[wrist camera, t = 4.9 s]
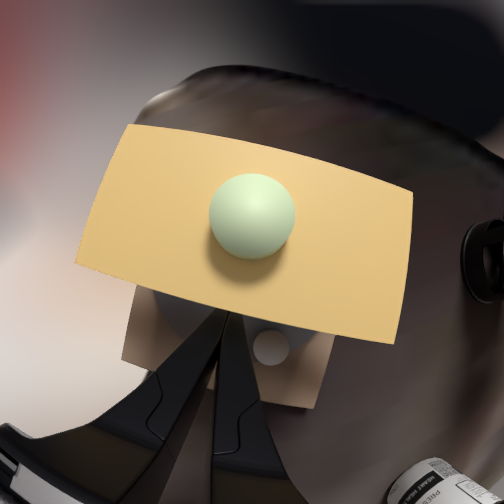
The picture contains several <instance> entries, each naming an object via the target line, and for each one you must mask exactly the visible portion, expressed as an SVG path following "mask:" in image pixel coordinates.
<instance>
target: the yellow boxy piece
mask: <svg viewBox="0 0 504 504" xmlns="http://www.w3.org/2000/svg"><path fill="white" fill-rule="evenodd" d="M412 203H413V192H410V191H408V190H405V189H403V188H400V187H398V186H395V185H393V184H390V183H387V182H384V181H382V180H379V179H376V178H373V177H371V176H368V175H365V174H362V173H359V172H356V171H353V170H350V169H347V168H344V167H340V166H337V165H334V164H331V163H327V162H324V161H321V160H317V159H314V158H310V157H307V156H303V155H299V154H295V153H292V152H288V151H284V150H280V149H276V148H272V147H267V146H263V145H259V144H254V143H250V142H245V141H240V140H235V139H230V138H225V137H220V136H214V135H209V134H203V133H197V132H190V131H184V130H177V129H170V128H162V127H153V126H144V125H134V124H128V126H127V128H126V130H125V132H124V134H123V136H122V138H121V140H120V142H119V144H118V146H117V148H116V150H115V153H114V155H113V157H112V159H111V161H110V164H109V166H108V168H107V170H106V173H105V175H104V178H103V180H102V182H101V185H100V187H99V190H98V193H97V195H96V198H95V200H94V204H93V206H92V209H91V211H90V214H89V217H88V220H87V223H86V226H85V229H84V232H83V235H82V239H81V242H80V245H79V249H78V252H77V256H76V259H75V263H76V264H79V265H81V266H84V267H87V268H90V269H93V270H95V271H98V272H101V273H104V274H107V275H110V276H113V277H116V278H119V279H122V280H125V281H128V282H131V283H134V284H137V285H141V286H144V287H147V288H150V289H153V290H157V291H160V292H163V293H167V294H170V295H173V296H177V297H180V298H184V299H187V300H191V301H194V302H198V303H202V304H205V305H209V306H213V307H217V308H220V309H224V310H228V311H232V312H236V313H240V314H244V315H248V316H252V317H256V318H261V319H265V320H269V321H273V322H278V323H282V324H287V325H291V326H296V327H301V328H306V329H310V330H315V331H320V332H325V333H331V334H336V335H341V336H347V337H352V338H358V339H364V340H370V341H376V342H382V343H389V344H394V340H395V336H396V332H397V327H398V322H399V317H400V312H401V306H402V301H403V295H404V288H405V282H406V275H407V267H408V258H409V249H410V238H411V224H412Z"/></svg>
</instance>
